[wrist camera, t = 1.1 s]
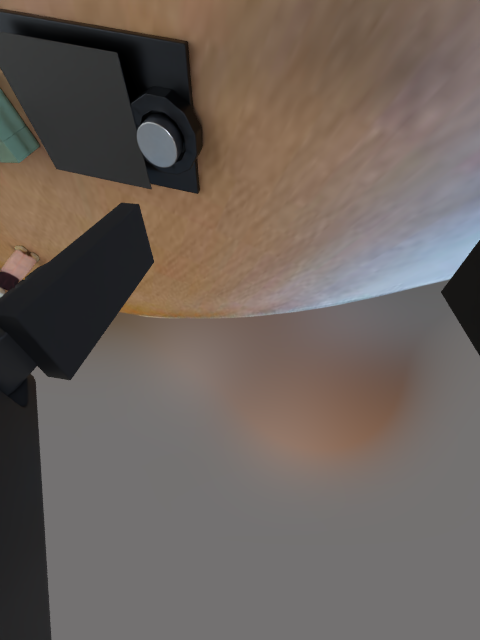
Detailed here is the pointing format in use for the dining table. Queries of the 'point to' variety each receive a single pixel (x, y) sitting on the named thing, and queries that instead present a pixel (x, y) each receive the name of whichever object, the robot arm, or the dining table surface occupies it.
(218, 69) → the dining table surface
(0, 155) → the pen stand
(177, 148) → the button
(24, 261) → the grandmother figurine
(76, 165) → the screen
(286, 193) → the dining table surface
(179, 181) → the tablet
